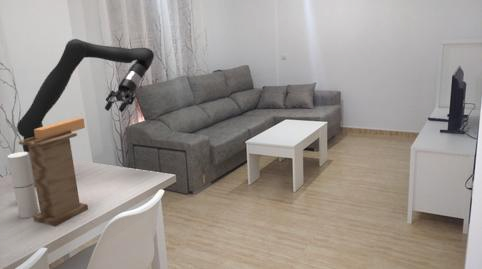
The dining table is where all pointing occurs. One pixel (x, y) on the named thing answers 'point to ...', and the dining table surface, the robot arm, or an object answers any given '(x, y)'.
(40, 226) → the dining table surface
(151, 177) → the dining table surface
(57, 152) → the walnut stand
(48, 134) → the orange bar
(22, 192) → the cylindrical container
